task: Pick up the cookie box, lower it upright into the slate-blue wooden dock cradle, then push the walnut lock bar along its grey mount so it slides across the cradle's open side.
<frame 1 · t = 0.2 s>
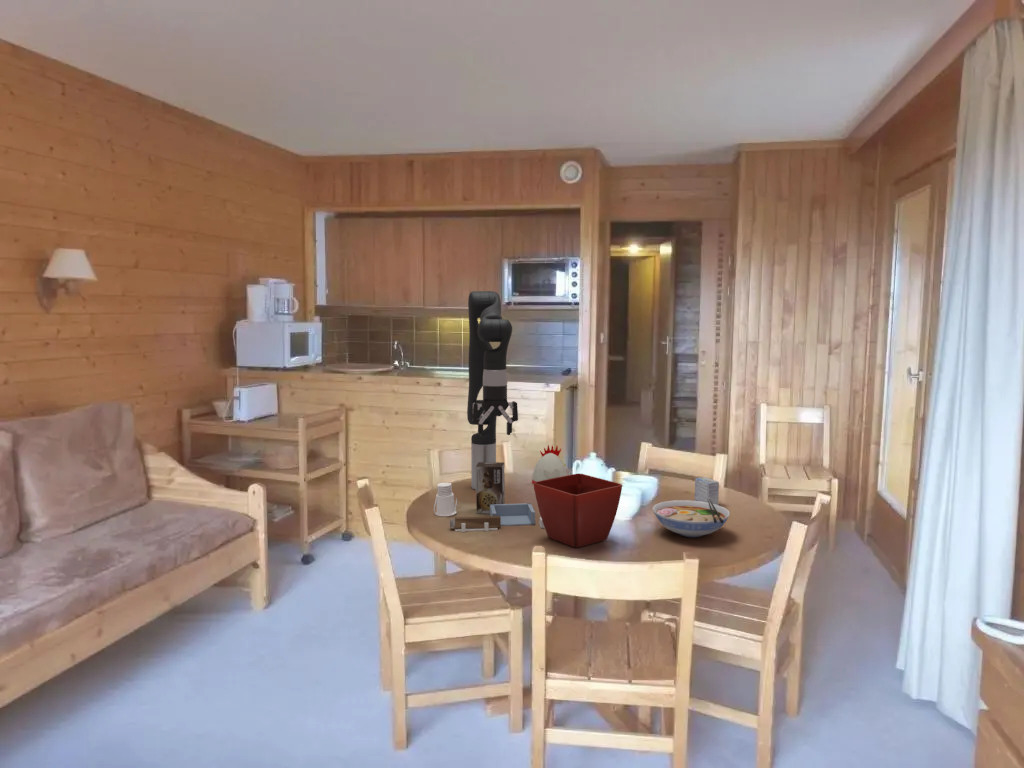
hand: (494, 435, 229), 28 cm above the table, fingers open, 8 cm apart
pin mount: (476, 528, 226), on the table
cookie box: (490, 511, 245), on the table
plant pot: (576, 539, 217), on the table
dock: (512, 520, 235), on the table
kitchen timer: (550, 483, 283), on the table
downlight: (445, 514, 242), on the table
lock bar: (475, 522, 226), point 2 cm above the table, slide at 0.0 cm
ramen bowl: (690, 534, 222), on the table
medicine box: (706, 504, 254), on the table
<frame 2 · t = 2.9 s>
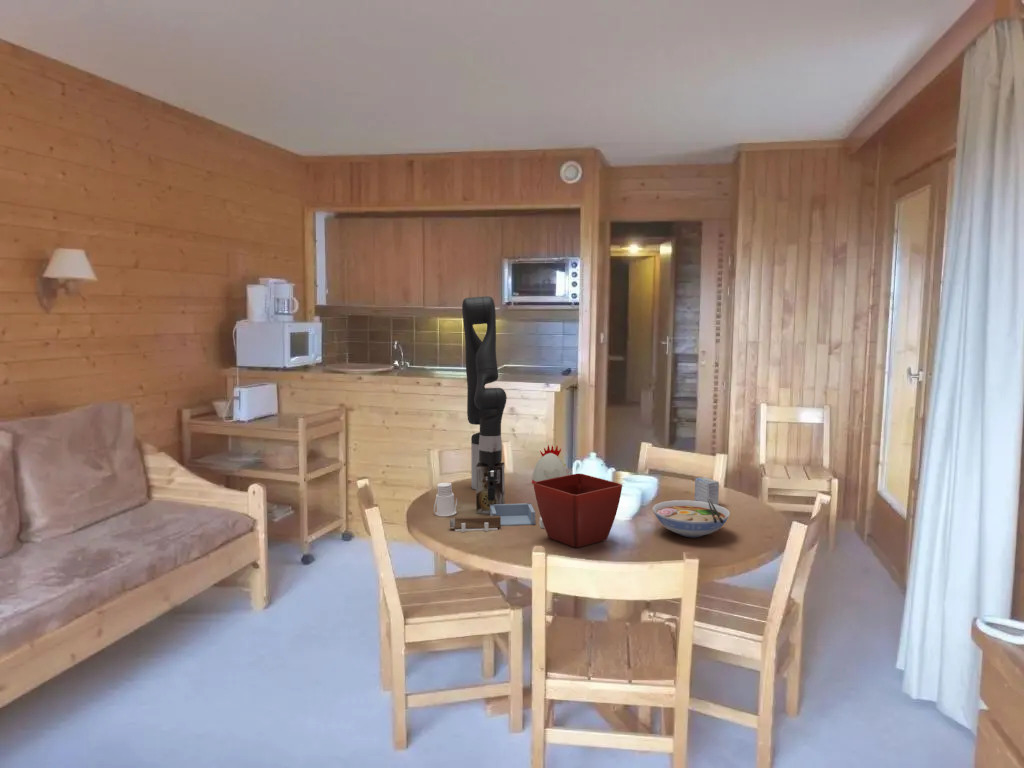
hand: (490, 496, 244), 5 cm above the table, fingers closed on cookie box, 7 cm apart
cookie box: (490, 511, 245), on the table, touching gripper
everything else where it was.
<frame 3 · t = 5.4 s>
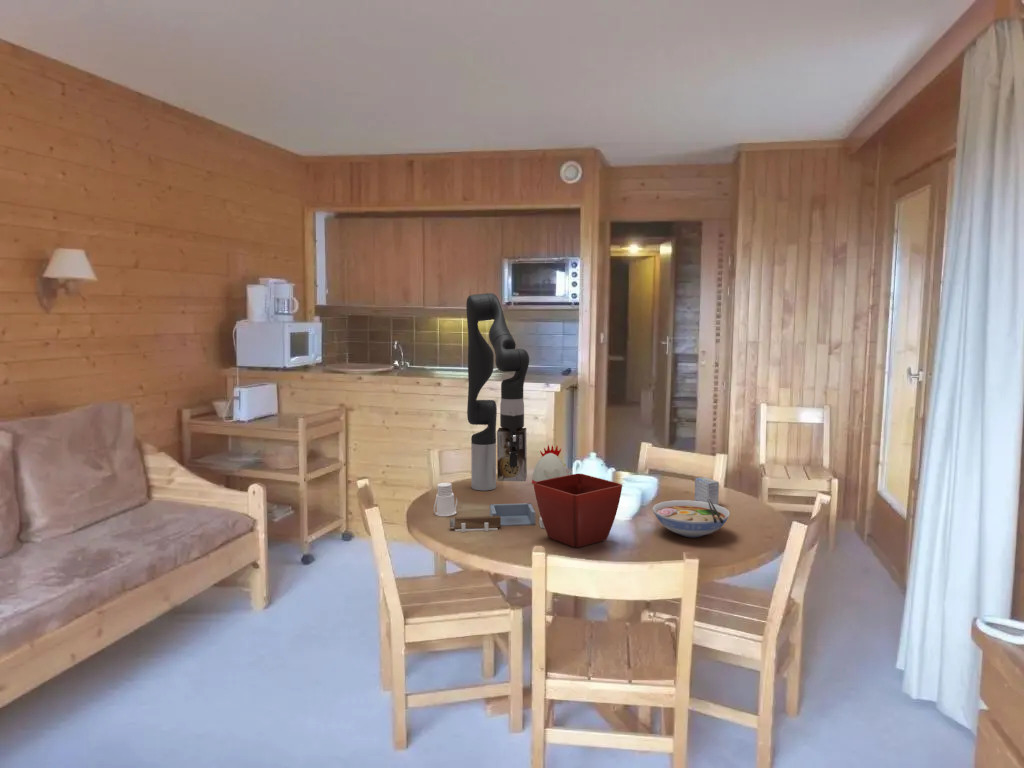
hand: (512, 463, 233), 18 cm above the table, fingers closed on cookie box, 7 cm apart
cookie box: (512, 479, 233), point 13 cm above the table, touching gripper
everything else where it was.
when the fingers open (7 cm above the table, at t = 8.1 s): cookie box drops 1 cm, resting on dock.
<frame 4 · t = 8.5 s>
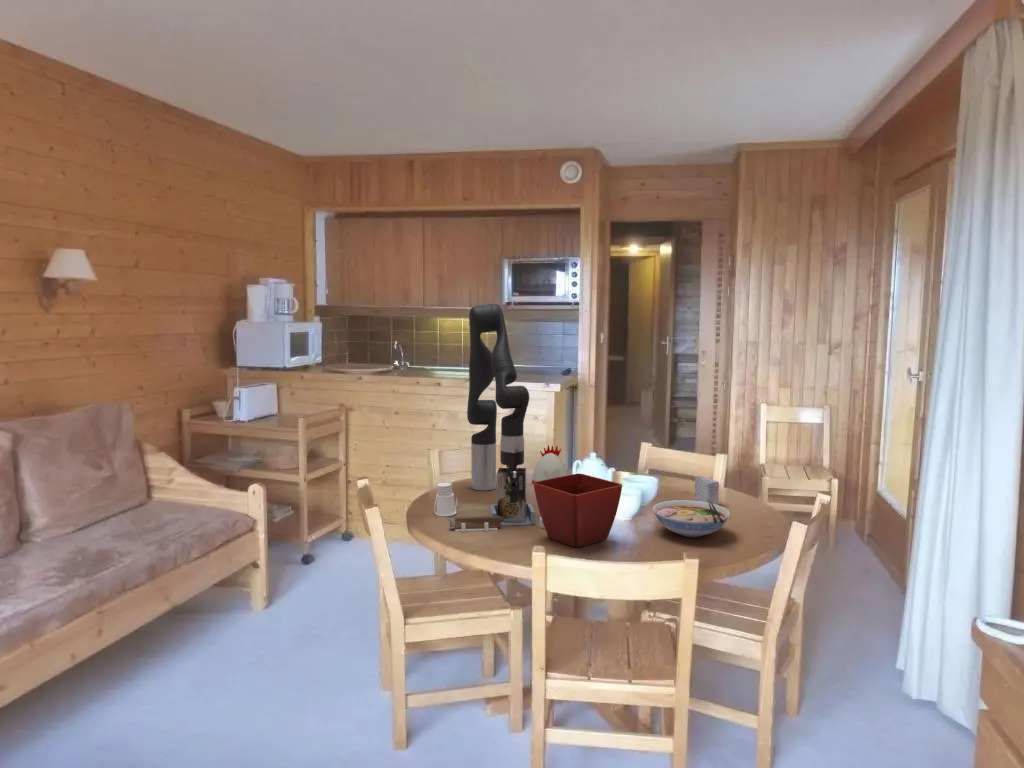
hand: (512, 498, 234), 7 cm above the table, fingers open, 8 cm apart
cookie box: (512, 519, 235), resting on dock
everything else where it was.
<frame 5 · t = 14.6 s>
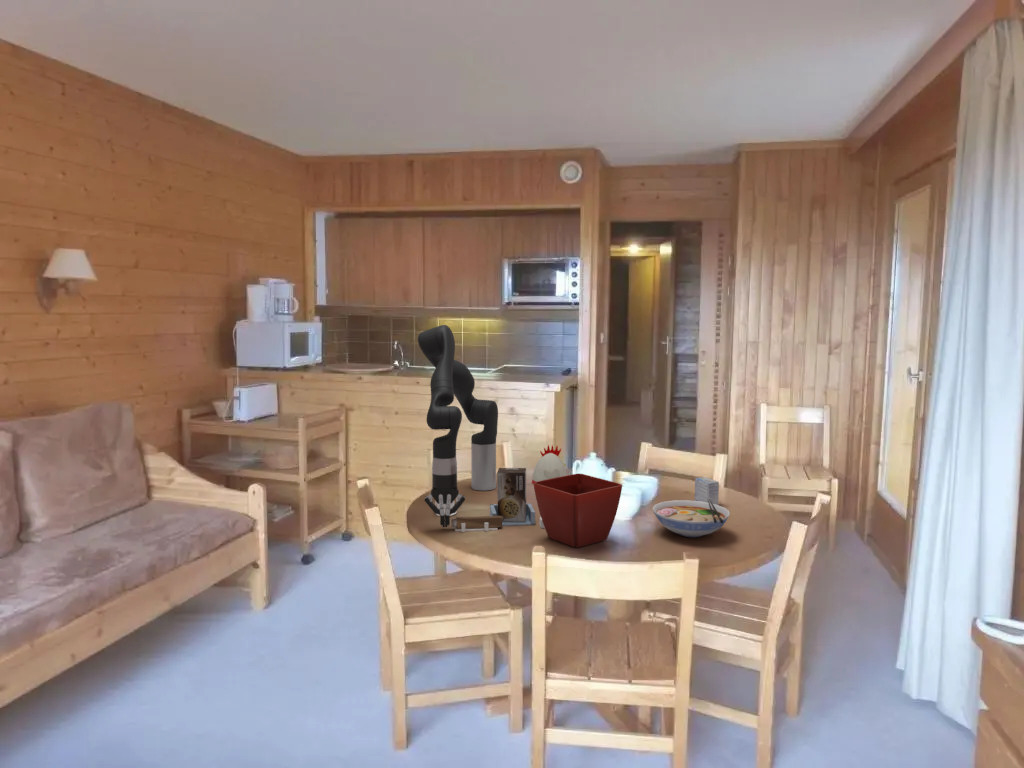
hand: (445, 526, 225), 1 cm above the table, fingers closed
lock bar: (476, 522, 226), point 2 cm above the table, slide at 0.5 cm, touching gripper
everything else where it was.
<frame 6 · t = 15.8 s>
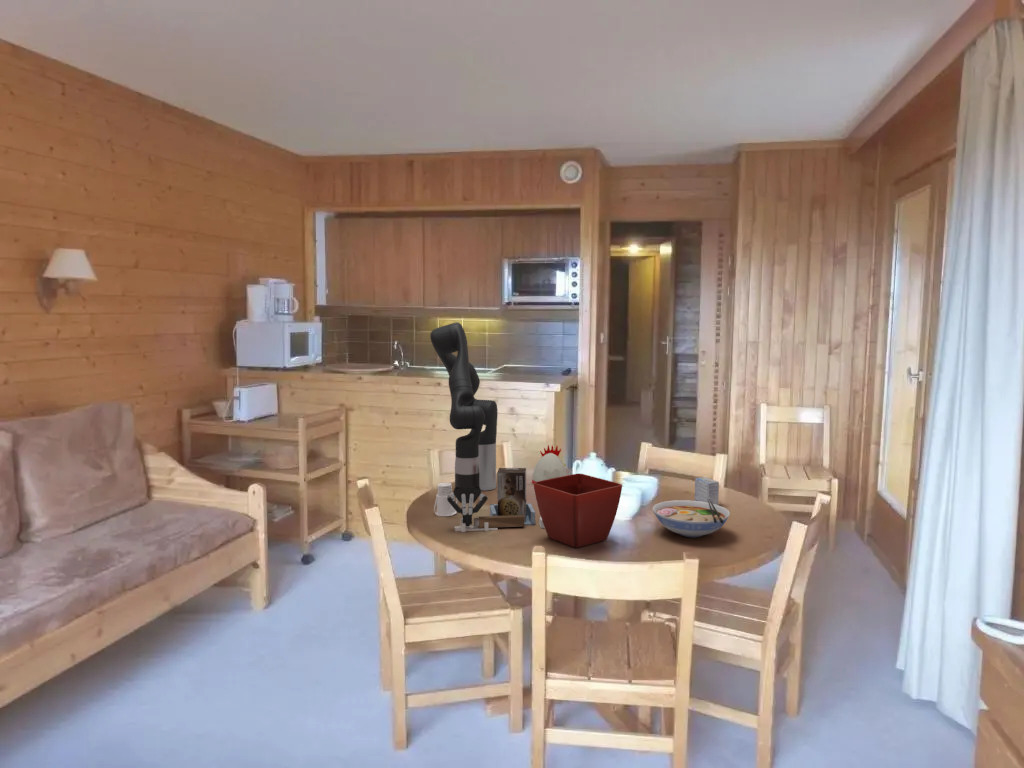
hand: (467, 525, 226), 1 cm above the table, fingers closed
lock bar: (498, 521, 227), point 2 cm above the table, slide at 7.3 cm, touching gripper
everything else where it was.
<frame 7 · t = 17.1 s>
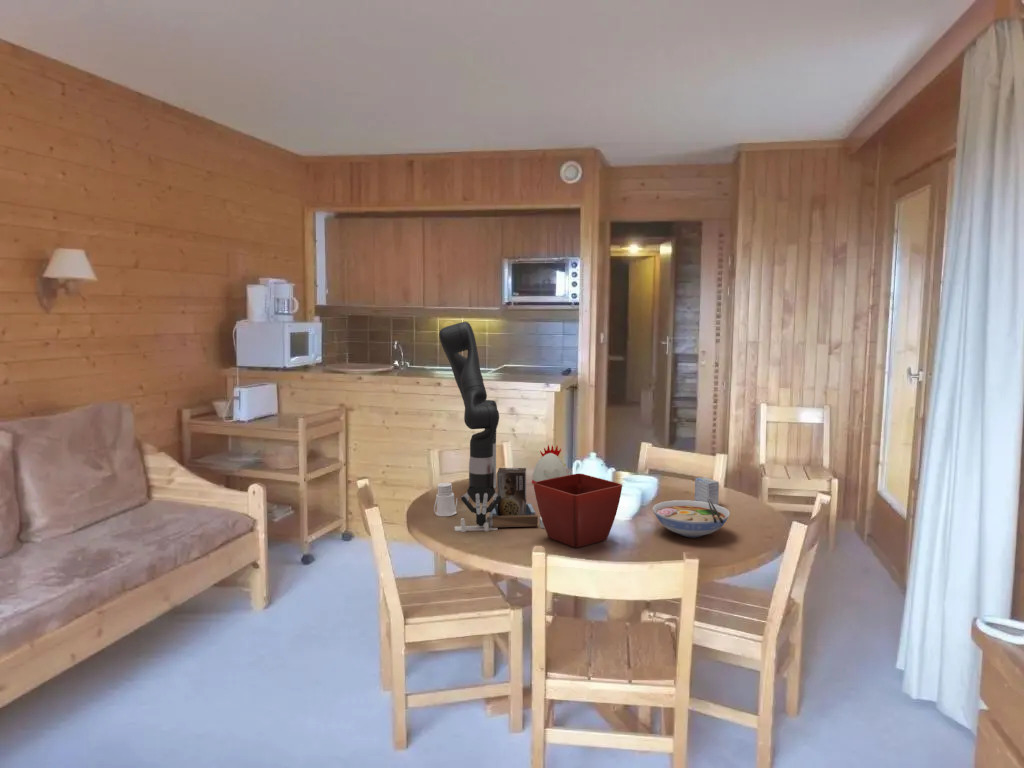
hand: (480, 525, 226), 1 cm above the table, fingers closed
lock bar: (512, 521, 227), point 2 cm above the table, slide at 11.5 cm, touching gripper
everything else where it was.
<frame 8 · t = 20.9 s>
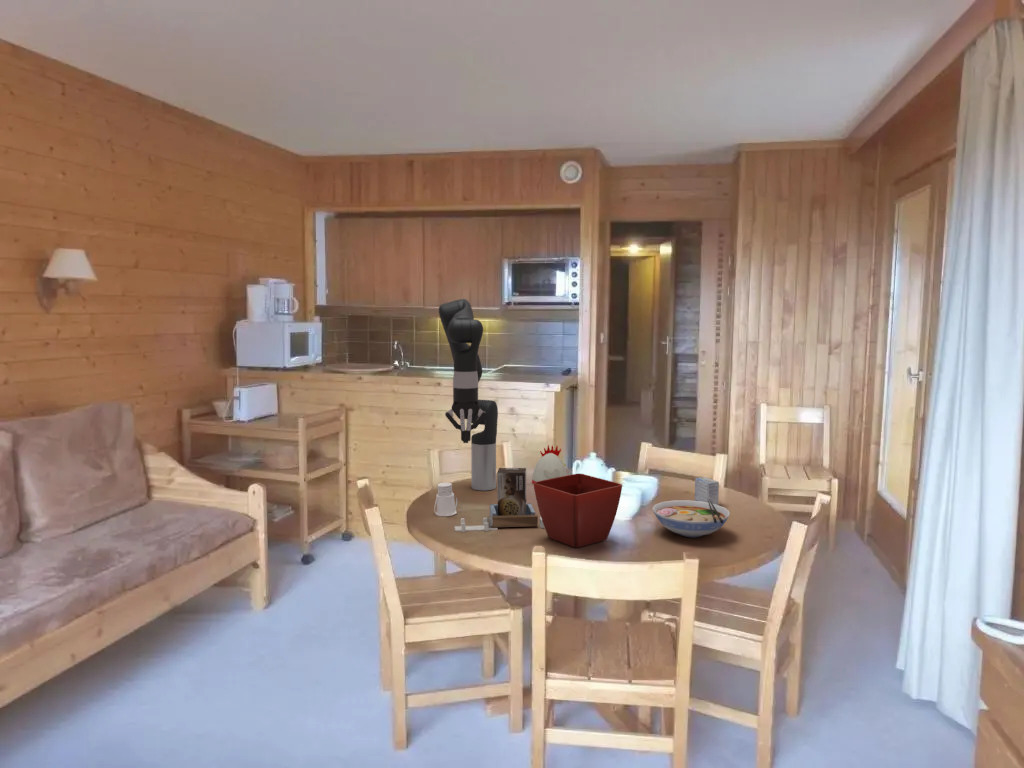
hand: (465, 442, 223), 27 cm above the table, fingers closed
lock bar: (512, 521, 227), point 2 cm above the table, slide at 11.5 cm
everything else where it was.
at the end: cookie box inside the target area on the dock (0.3 cm from its centre), point 0.2 cm above the dock's base; cookie box tilted 0°; lock bar slide at 11.5 cm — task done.
